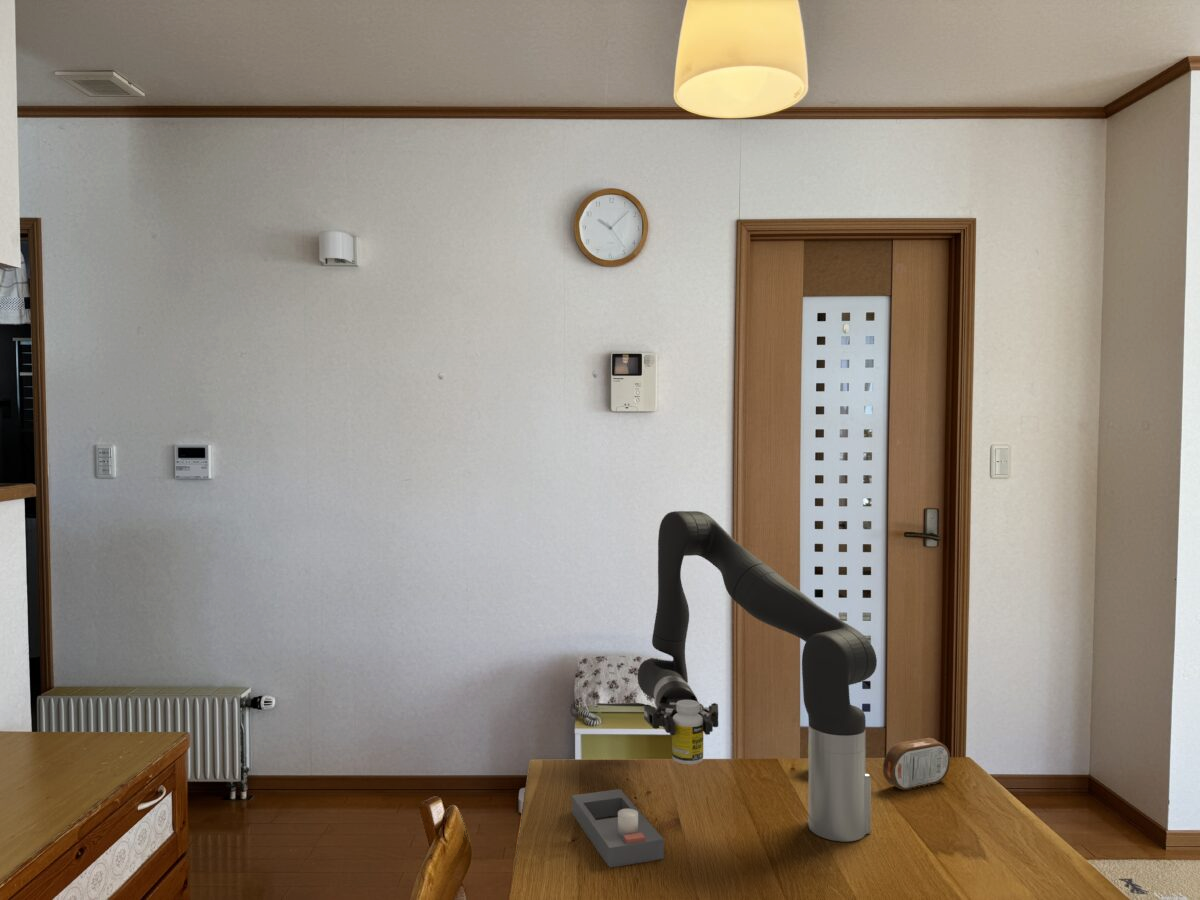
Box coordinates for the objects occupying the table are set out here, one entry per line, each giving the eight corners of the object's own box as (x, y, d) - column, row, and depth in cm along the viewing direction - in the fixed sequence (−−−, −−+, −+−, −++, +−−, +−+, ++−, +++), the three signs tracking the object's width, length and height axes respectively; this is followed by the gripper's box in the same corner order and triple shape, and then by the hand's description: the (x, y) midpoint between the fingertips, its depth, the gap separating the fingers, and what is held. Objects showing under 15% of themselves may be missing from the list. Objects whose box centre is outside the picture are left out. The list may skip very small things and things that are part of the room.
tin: (940, 776, 157) (940, 733, 157) (953, 782, 154) (953, 738, 154) (881, 789, 151) (881, 744, 151) (893, 795, 148) (893, 749, 148)
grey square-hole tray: (619, 805, 143) (619, 772, 143) (663, 858, 124) (664, 819, 124) (571, 812, 140) (571, 778, 140) (609, 867, 121) (609, 827, 121)
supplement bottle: (695, 767, 134) (694, 709, 134) (666, 761, 137) (666, 704, 137) (708, 757, 139) (708, 701, 139) (680, 751, 142) (680, 696, 142)
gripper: (637, 681, 152) (648, 708, 135) (711, 679, 153) (732, 706, 136) (637, 720, 152) (648, 752, 135) (712, 718, 153) (732, 750, 136)
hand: (690, 729), depth 136 cm, fingers closed on supplement bottle, 5 cm apart
